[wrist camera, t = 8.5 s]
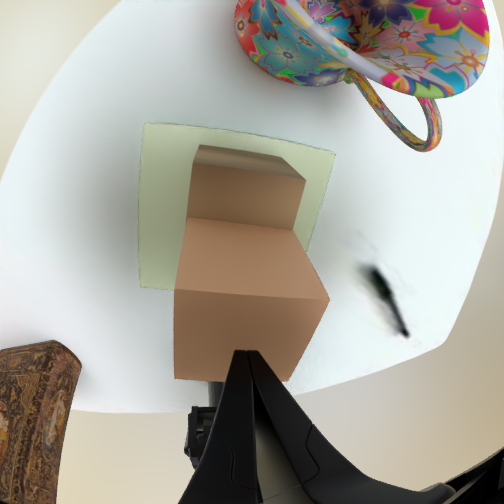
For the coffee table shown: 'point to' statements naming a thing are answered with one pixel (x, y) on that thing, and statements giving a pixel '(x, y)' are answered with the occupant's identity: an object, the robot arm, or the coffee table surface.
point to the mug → (372, 48)
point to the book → (34, 419)
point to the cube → (242, 298)
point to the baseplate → (178, 183)
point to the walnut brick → (244, 188)
